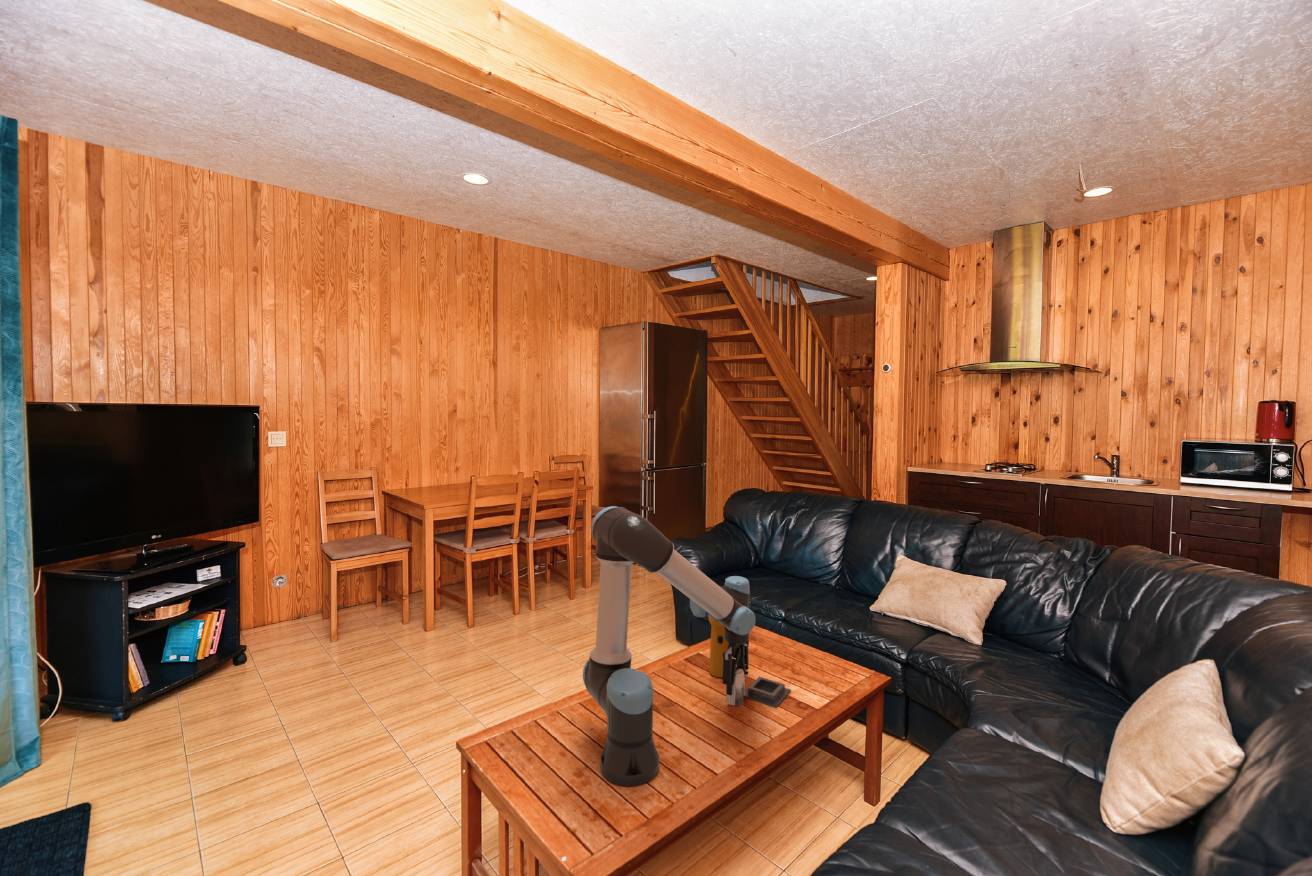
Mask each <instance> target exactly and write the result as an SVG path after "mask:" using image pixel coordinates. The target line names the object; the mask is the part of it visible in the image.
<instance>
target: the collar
mask: <svg viewBox="0 0 1312 876" xmlns="http://www.w3.org/2000/svg"><path fill="white" fill-rule="evenodd" d="M791 692H792V689H790V688H787V687H786V684H785V683H781V682H779V681H775V680H771V679H769V678H766V677H763V676H758V677H757V678H756V679H755V680H754V681H753V682H751V684H750V685H749V686H748V687H747V688H746V689H745V695H744V698H746V699H748V700H752V701H754V702H758V703H761V704H762V705H763V704H764V705H767V706H769V707H772V708H775V709H776V708H778V707H779V706H780V704H782V702H783V701H784V700H785V699H786V698H787V697H788V696H789V694H790V693H791Z"/></svg>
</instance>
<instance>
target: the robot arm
mask: <svg viewBox="0 0 1312 876" xmlns="http://www.w3.org/2000/svg"><path fill="white" fill-rule="evenodd" d="M590 530H591V531H590V532H591V535H592V538H593V540H594V541H595V558H596V559H597V560H598V561H599V563H600V566H599V567H600V568H599V569H600V571H599V586H598V602H597V603H598V604H597V622H596V636H595V637H596V638H595V647H594V648H592V649H591V651H589V658H588V660H586V662H585V663H584V666H583V670H582V681H583V684H584V685H585V688H586V690H587V692H588V694H589V695H590V696H591V697H592V698H593V699H594V701H595V702H596V703H597V704H598V705H599V707H600V708H601V709H602V711H604V713H605V714H606V719H607V721H606V722H607V724H606V725H607V726H606V728H607V730H606V732H607V735H606V736H607V737H606V741H605V743H604V747H603V750H602V751H601V752H602V753H601V757H600V764H599V765H600V767H599V768H600V772H601V775H602V777H604V779H606V781H608V782H610V783H612V784H615V785H618V786H623V787H635V786H636V787H637V786H641V785H644V784H646V783H648V782H650V781H651V780H652V779H654V778H655V777H656V776H657V774H658V773H659V770H660V755H659V752H658V751H657V748H656V745H655V741H654V737H653V732H654V731H653V730H654V729H653V728H654V723H653V722H654V721H653V720H654V696H655V695H654V686H653V681H652V680H651V678H650V677H649V676H648V674H646V672H643V671H642V670H637V669H635V668H632V652H631V651H630V650H629V648H628V647H627V646H628V644H627V643H628V630H629V613H630V612H629V611H630V598H631V581H632V564H633V563H634V564H637V565H638V566H640V567H641V568H643V569H644V570H646V571H648V573H651V574H655V573H656V574H657V575H659V576H660V577H661V578H663V579H664V580H665V581H666V582H668V583H670V585H672V586H673V587H674V588H676V590H679V591H680V592H681V593H682V594H684V595H685V596H686V597H687V598H689V607H690V610H691V613H692V614H693V616H694V617H696V618H705V617H708V618H709V617H711V618H712V619H714V620H716V621H717V622H719V623H721V624H722V625H724V626H725V628H724V638H725V640H726V641H727V642H728V643H729V644H728V651H727V653H726V652H723V678H722V679H721V680H722V684H723V685H726V686H725V703H726V704H728V705H730V704H731V705H730V706H733V705H735V684H734V679H735V672H736V666H739V667H741V668H742V669H743V670H744V695H745V690H746V689H745V688H746V687H745V686H746V676H748V675H749V667H750V666H749V663H750V662H749V659H750V658H749V646H750V645H749V644H750V640H749V639H750V637H749V636H750V633H751V632H752V630H753V629H754V627H755V625H756V615H755V613H754V611H753V610H752V609H750V601H751V599H750V597H751V595H750V594H751V591H750V589H751V588H750V581H749V579H748V578H746V577H743V576H738V575H733V576H728V577H726V578H725V582H724V585H722V586H720V585H718V584H717V583H716V581H714V580H712V579H711V578H710V577H708V576H707V575H706V574H705V573H704V572H702V570H700V569H699V568H697V566H695V565H694V564H693V563H692V562H690V561H689V560H688V559H687V558H686V557H684V556H683V555H681V554H680V552H678V551H677V550H676V549H675V546H674V543H673V542H672V541H671V540H670V539H668V538H667V537H666V536H665V535H664V534H663V533H662V532H661V531H660V530H659V529H658V528H657V527H656V526H655V525H653V524H652V523H651V522H650V521H649V520H648V519H647V518H645V517H644V516H643V515H640V514H637V513H635V512H633V511H631V510H629V509H627V508H625V507H623V506H622V507H621V506H620V507H619V506H615V505H613V506H611V505H610V506H607V507H604V508H603V509H601V510H600V511H599V512H598V513H596V515H595V516H594V518H593V519H592V522H591V528H590Z"/></svg>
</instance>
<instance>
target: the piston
mask: <svg viewBox="0 0 1312 876" xmlns="http://www.w3.org/2000/svg"><path fill="white" fill-rule="evenodd" d="M734 684H735V705H731V704H729V705H730V706H734V707H740V706H742V705H744V698H745V697H744V670H743V669H742V668H741V667H739V666H737V665H736V672H735V679H734Z"/></svg>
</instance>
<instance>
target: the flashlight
mask: <svg viewBox="0 0 1312 876" xmlns="http://www.w3.org/2000/svg"><path fill="white" fill-rule="evenodd" d="M708 621H709V624H710V625H711V628H710V629H711V632H710V650H709V670H708V671H709V674H710V675H711V676H713V677H716V678H722V679H723V652H726V653H727V651H728V644H729V643H728V642H727V641H726V640H725V638H724V628H725V626H724V625H722V624H721V623H719V622H717V621H716V620H714V619H712V618H711V617H709V616H708Z"/></svg>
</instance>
